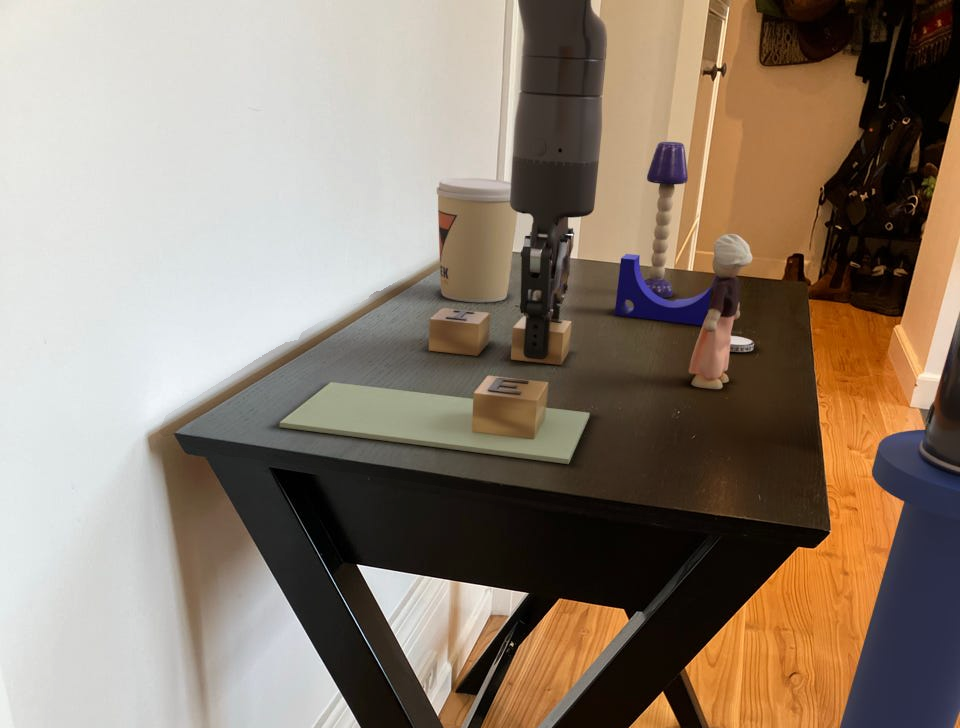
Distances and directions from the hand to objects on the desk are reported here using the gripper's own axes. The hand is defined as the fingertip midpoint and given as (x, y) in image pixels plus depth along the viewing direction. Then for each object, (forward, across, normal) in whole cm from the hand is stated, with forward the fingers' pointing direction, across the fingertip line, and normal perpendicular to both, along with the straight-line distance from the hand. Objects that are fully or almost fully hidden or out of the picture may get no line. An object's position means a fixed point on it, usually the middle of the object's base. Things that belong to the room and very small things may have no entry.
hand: (540, 349), depth 96 cm
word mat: (+1, -22, +4) cm, 22 cm away
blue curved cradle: (+1, +22, -11) cm, 25 cm away
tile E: (0, -22, -2) cm, 22 cm away
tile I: (+1, 0, +8) cm, 8 cm away
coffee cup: (+1, +23, +12) cm, 26 cm away
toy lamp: (+1, +33, -8) cm, 34 cm away
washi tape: (+1, +11, -18) cm, 21 cm away
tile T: (+1, 0, 0) cm, 1 cm away
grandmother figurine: (+1, -3, -16) cm, 16 cm away
